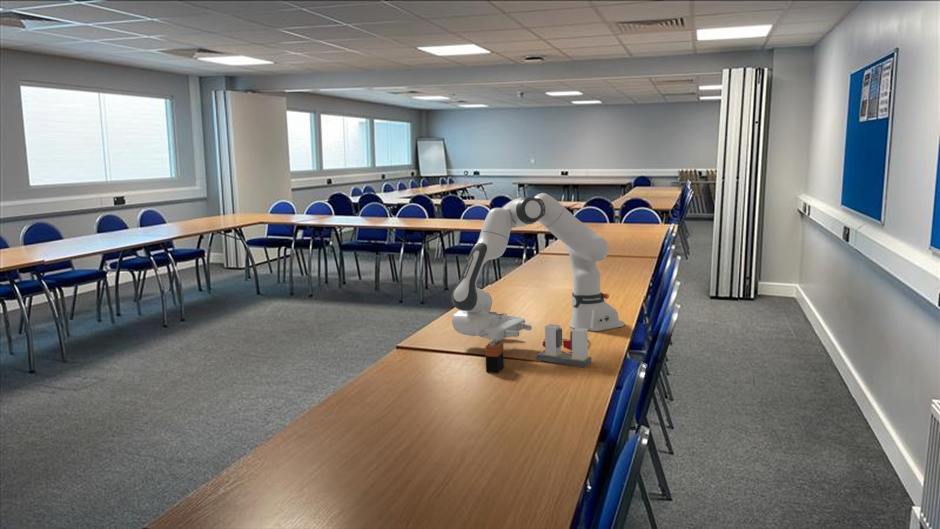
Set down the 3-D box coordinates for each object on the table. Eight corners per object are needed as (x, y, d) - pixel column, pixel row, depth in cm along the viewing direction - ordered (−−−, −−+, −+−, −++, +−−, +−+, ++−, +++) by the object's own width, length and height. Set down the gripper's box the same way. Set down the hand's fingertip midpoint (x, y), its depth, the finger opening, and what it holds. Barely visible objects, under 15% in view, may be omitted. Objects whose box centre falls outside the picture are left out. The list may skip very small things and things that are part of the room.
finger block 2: (570, 358, 224) (569, 329, 223) (574, 354, 227) (574, 326, 226) (583, 360, 222) (582, 331, 220) (587, 356, 225) (587, 328, 223)
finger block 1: (545, 354, 229) (545, 326, 228) (550, 351, 232) (550, 324, 231) (557, 356, 227) (557, 328, 225) (562, 353, 230) (562, 325, 228)
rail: (536, 360, 230) (536, 354, 230) (544, 355, 235) (544, 349, 235) (584, 367, 221) (584, 361, 220) (591, 362, 226) (591, 356, 225)
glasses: (541, 351, 242) (541, 337, 241) (553, 339, 257) (553, 326, 256) (578, 354, 237) (578, 341, 236) (588, 341, 252) (588, 329, 251)
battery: (504, 367, 224) (503, 338, 222) (498, 373, 218) (497, 344, 216) (492, 366, 226) (491, 338, 224) (485, 372, 219) (484, 343, 218)
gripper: (476, 324, 233) (510, 329, 225) (504, 312, 250) (537, 316, 242) (476, 341, 234) (510, 347, 226) (505, 328, 251) (537, 332, 243)
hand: (524, 331), depth 234 cm, fingers open, 8 cm apart
